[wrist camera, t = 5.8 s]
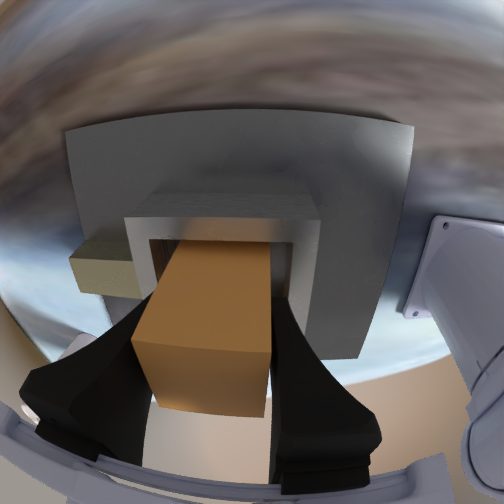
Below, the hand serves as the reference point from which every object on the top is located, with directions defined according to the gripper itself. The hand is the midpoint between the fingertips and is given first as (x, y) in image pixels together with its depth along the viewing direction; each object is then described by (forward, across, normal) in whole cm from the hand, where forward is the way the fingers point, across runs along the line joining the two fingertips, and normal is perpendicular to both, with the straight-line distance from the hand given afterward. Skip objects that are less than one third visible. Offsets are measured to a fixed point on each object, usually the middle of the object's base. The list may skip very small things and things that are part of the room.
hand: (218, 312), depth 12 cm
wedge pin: (+4, 0, 0) cm, 4 cm away
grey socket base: (+5, 0, 0) cm, 5 cm away
